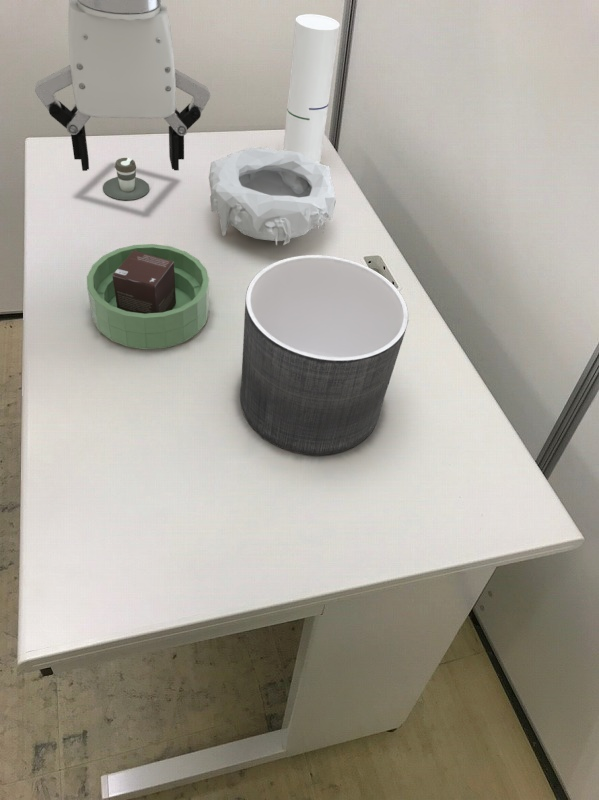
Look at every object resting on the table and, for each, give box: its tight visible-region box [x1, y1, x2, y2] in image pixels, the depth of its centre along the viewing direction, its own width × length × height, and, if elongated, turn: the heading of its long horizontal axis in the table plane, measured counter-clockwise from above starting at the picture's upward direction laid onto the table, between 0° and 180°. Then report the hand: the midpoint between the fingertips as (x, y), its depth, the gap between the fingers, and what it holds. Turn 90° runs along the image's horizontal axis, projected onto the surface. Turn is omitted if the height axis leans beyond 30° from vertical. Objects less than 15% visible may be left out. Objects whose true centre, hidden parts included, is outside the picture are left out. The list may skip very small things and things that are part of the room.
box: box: [112, 251, 176, 314], centre depth 85 cm, size 6×6×7 cm
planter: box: [239, 254, 409, 456], centre depth 75 cm, size 18×18×16 cm
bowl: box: [208, 146, 337, 246], centre depth 103 cm, size 21×20×10 cm
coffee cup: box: [102, 157, 150, 201], centre depth 108 cm, size 12×12×5 cm
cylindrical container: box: [282, 13, 341, 164], centre depth 112 cm, size 7×7×25 cm
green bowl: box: [86, 243, 210, 350], centre depth 87 cm, size 16×16×6 cm
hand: (130, 164), depth 71 cm, fingers open, 9 cm apart
